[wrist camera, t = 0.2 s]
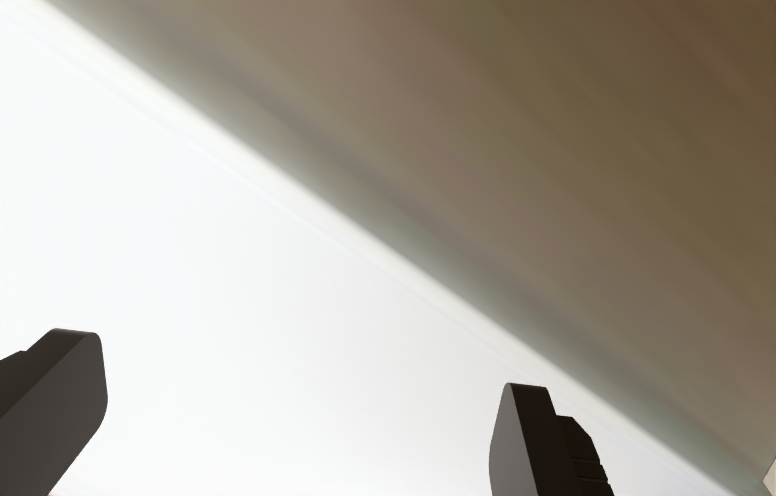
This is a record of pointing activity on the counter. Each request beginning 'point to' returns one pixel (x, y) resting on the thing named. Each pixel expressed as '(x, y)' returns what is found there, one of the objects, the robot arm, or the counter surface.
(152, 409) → the counter surface
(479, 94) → the counter surface
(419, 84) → the counter surface
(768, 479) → the post board
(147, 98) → the counter surface
